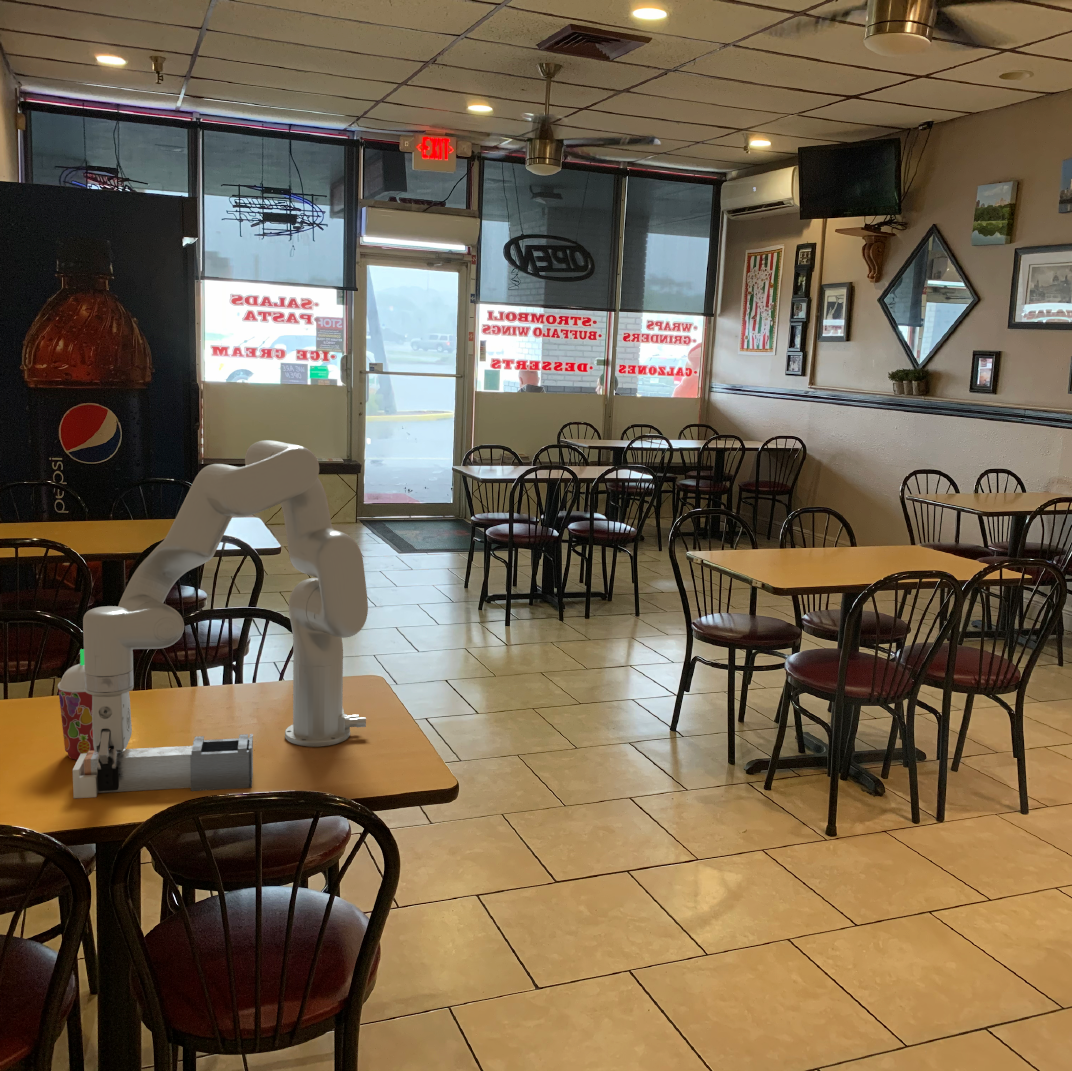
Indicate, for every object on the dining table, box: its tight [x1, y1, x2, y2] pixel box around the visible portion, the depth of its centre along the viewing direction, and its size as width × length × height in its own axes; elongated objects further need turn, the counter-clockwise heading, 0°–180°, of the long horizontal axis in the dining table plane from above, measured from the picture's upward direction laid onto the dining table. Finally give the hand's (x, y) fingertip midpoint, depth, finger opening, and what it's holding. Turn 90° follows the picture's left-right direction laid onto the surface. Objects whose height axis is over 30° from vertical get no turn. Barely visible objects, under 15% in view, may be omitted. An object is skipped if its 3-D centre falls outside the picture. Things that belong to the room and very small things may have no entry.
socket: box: [72, 753, 98, 799], centre depth 173 cm, size 4×7×5 cm, turn 14°
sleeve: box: [190, 733, 254, 792], centre depth 178 cm, size 10×7×7 cm
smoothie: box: [57, 648, 95, 761], centre depth 186 cm, size 8×8×20 cm
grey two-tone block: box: [84, 745, 193, 794], centre depth 175 cm, size 18×4×6 cm, turn 104°
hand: (112, 779), depth 174 cm, fingers open, 7 cm apart
